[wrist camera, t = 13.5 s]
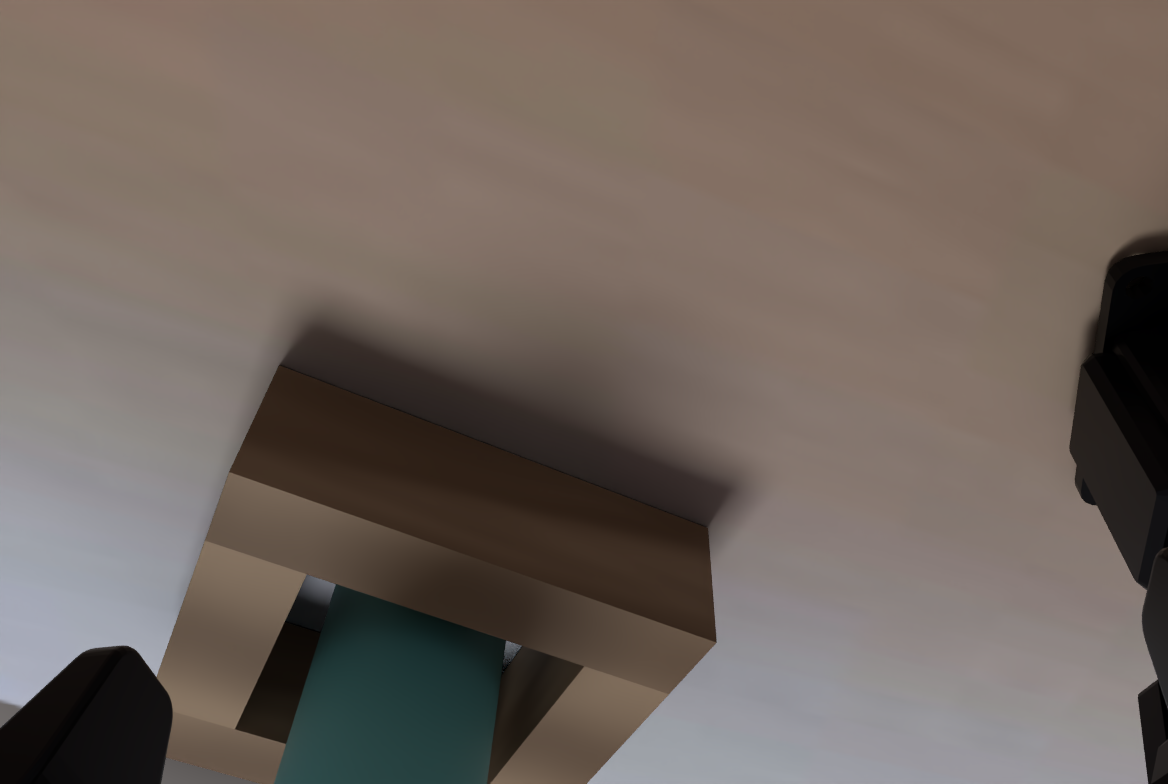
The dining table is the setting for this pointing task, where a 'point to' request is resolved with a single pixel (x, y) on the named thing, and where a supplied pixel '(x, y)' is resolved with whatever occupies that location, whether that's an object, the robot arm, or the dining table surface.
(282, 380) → the block
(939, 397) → the dining table surface
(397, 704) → the peg
